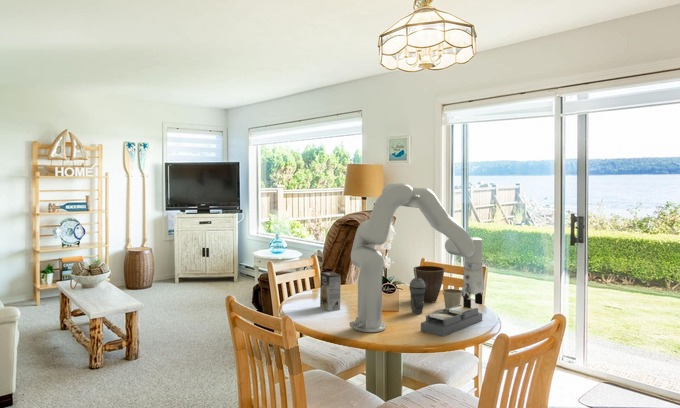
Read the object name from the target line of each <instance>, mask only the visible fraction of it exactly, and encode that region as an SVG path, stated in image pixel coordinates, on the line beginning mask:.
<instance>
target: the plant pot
mask: <svg viewBox="0 0 680 408" xmlns="http://www.w3.org/2000/svg"><path fill="white" fill-rule="evenodd" d="M412 268H413V274H414V275H413V276H414V277H415V269H414V268H416V276H417V278H421V279H422V280H423V281H424V282H425V286H426V288H425V292H424V303H435V302H437V300H438V297H439V295H440V292H441V289H442V285H443V279H444V275H445V268H444V267H441V266H435V265H418V266H415V267H414V266H413V267H412Z"/></svg>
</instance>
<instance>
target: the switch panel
mask: <svg viewBox="0 0 680 408" xmlns="http://www.w3.org/2000/svg"><path fill="white" fill-rule="evenodd" d="M459 306H462V304H460V305H457V306H454V307H451V308H448V309H445V308H444V309H445V310H440V311H437V312H436V311H435V312H434V313H432V314H447V315H451V316H453V317H450V318H447V319H444V320H441V319H437V318H433V317H430V314H428V315H425V321H422V322H421V323H420V331H421V332H424V333H429V334H433V335H436V336H440V337H445V336H447V335H450V334H453V333H455V332H457V331H460V330H462V329H464V328H467V327H470V326H472V325H474V324H477V323H479V322H482V321H483V313H482V312H479V308H478V307H475V308H474V309H472V310H469V311H466V312H464V313H462V315H460V314H456V313H451V312H449V309H452V308H455V307H459ZM444 312H445V313H444Z"/></svg>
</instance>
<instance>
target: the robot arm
mask: <svg viewBox="0 0 680 408" xmlns="http://www.w3.org/2000/svg"><path fill="white" fill-rule="evenodd" d="M399 207H407V208H415V209H419V211H420V212H421V213H422V215H423V216H424V218H425V219H426V221H427V222H428V223H429V226H431V227H432V228H433V230H435V231H437V232H439V233H441V234H443V235H444V236H446V237H447V238H448V239H447V240H446V241H445V243H444V249H445V251H446V252H447V254H450V255H451V256H452V255H453V256H456V257H461V258H463V269H464V270H463V271H464V273H463V283H462V284H463V285H462V289H460V290H461V292H462V296H461V297H462V299H463V300H462V301H463V304H462V306H463V307H467V308H472V299H471V297H472V295H473V296H474V303H475V304H477V305H483V295H484V291H485V278H484V277H485V276H484V271H483V239H482V238H480V237H476V236H470V235H469V233H468V232H467V230H466V229H465V228H464V227H463V226H462V225H461V224H460V223H459V222H457V221H456V220H455V219H454V218H453V217H452V216H451V215H450V214H449V213H448V212H447V210H446V208H445V207H444V206H443V205H442V203H441V201H440V200H439V199H438V197H437V195H436V194H435V193H434V191H432V190H431V189H430V188H427V187H412V186H411V185H410V184H407V183H403V182H402V183H398V182H397V183H388V184H386V185H385V186H384V187H383V188H382V190H381V194H380V195H379V196H378V197H377V199H376V200H375V203H374V205H373V207H372V210H371V213H370V217H369V219H366V220H364V221H362V222H361V223H360V224H359V225H358V227H357V229H356V231H355V236H354V239H353V244H352V247H351V251H350V260H351V263H352V265H353V266H354V267H355V268H357V269H359V273H358V277H357V317H355V320H354V321H350V322H349V323H348V325H349V327H350V328H353V329H354V330H356V331H359V332H362V333H363V332H364V333H377V332H383V331H385V330H386V324H385V323H384V322H382V321H383V320H382V315H383V313H382V312H383V309H382V307H383V305H382V303H383V275H384V274H383V273H384V268H385V259H384V256H383V254H382V253H381V252H380V251H379V250H378V249H376V248H375V246H382V245H383V244H385V242H387V239H388V236H389V232H390V227H391V225H392V220H393V217H394V214H395V212H396V211H397V209H398V208H399Z"/></svg>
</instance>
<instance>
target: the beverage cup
mask: <svg viewBox="0 0 680 408" xmlns="http://www.w3.org/2000/svg"><path fill="white" fill-rule="evenodd" d="M413 268H414V267H413ZM414 269H415V276H414V278H413V279H411V281H410V282H409V286H408V287H409V291H410V305H411V313H412V314H415V315H422V314H423V310H424V303H425V302H424V292H425V288H426V286H425V282H424V281H423V280H422V279H421V278H417V276H416V268H414ZM414 269H413V270H414Z"/></svg>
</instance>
